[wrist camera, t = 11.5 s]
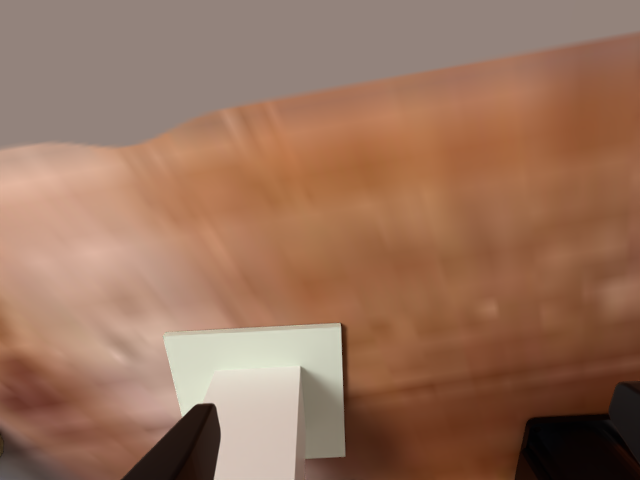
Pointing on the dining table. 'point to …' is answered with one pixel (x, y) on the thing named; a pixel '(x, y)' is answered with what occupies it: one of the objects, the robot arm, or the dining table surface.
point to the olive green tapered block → (1, 446)
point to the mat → (263, 352)
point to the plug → (259, 423)
